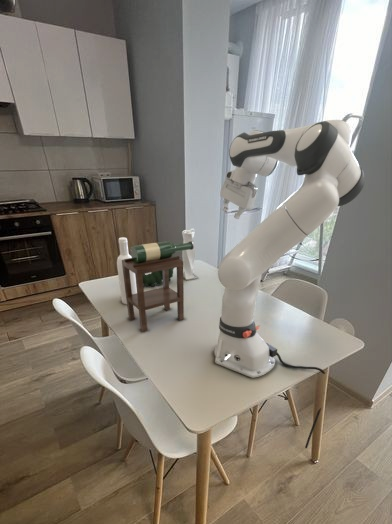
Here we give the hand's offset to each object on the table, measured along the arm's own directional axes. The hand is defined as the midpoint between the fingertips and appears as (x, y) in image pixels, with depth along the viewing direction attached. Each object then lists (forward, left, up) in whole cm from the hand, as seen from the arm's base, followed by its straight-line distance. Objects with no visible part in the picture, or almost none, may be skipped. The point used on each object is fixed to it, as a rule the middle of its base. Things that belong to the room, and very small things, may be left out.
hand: (230, 214), depth 126 cm
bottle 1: (+31, +34, -40) cm, 61 cm away
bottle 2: (+7, +31, -14) cm, 35 cm away
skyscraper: (+35, -10, -40) cm, 54 cm away
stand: (+8, +36, -40) cm, 54 cm away
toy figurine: (+40, +10, -40) cm, 58 cm away
